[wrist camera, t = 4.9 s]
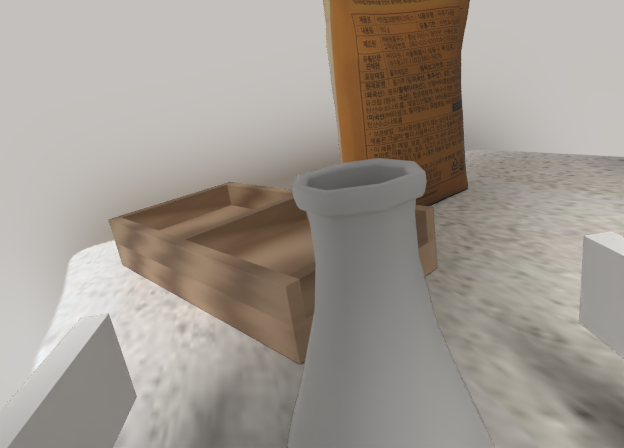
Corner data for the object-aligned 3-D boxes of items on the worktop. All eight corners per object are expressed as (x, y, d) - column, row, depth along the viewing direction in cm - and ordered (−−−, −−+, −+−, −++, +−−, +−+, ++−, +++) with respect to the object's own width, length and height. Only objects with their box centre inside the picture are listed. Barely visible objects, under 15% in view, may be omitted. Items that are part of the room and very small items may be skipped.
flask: (432, 379, 18) (415, 134, 15) (583, 549, 11) (612, 164, 8) (260, 437, 16) (198, 177, 13) (315, 677, 9) (216, 259, 6)
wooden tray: (122, 264, 36) (108, 219, 35) (237, 220, 43) (229, 182, 42) (300, 364, 20) (285, 286, 19) (437, 267, 27) (433, 206, 26)
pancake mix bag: (508, 179, 43) (507, -165, 34) (374, 243, 32) (323, -232, 24) (450, 174, 48) (435, -126, 39) (318, 227, 38) (258, -166, 29)
